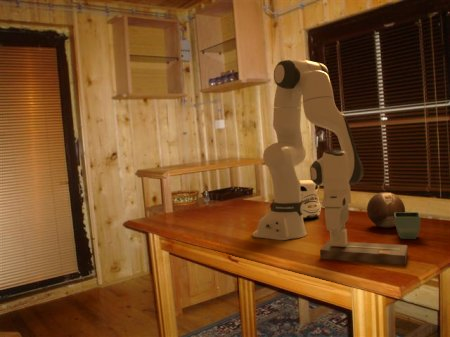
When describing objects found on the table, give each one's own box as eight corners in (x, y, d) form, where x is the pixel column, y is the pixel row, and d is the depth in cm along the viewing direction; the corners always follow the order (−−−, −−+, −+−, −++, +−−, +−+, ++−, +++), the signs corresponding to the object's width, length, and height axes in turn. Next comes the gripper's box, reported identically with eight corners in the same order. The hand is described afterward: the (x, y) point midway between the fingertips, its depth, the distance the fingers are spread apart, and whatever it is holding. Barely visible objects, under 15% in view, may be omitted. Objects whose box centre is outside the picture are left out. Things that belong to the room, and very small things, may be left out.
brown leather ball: (379, 232, 165) (377, 196, 164) (361, 225, 180) (359, 191, 179) (413, 229, 167) (412, 193, 166) (392, 222, 182) (391, 188, 181)
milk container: (315, 222, 192) (313, 184, 191) (280, 220, 201) (278, 184, 199) (325, 215, 207) (323, 179, 206) (293, 213, 216) (291, 180, 214)
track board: (320, 258, 136) (320, 249, 136) (328, 249, 147) (328, 240, 147) (405, 265, 124) (405, 255, 124) (407, 254, 135) (407, 244, 135)
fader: (330, 245, 138) (329, 231, 138) (332, 242, 142) (332, 228, 142) (345, 246, 136) (344, 231, 136) (347, 243, 140) (346, 229, 139)
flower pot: (395, 240, 153) (394, 216, 152) (394, 234, 161) (393, 212, 160) (421, 241, 149) (420, 216, 149) (419, 235, 158) (418, 212, 157)
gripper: (334, 193, 148) (336, 230, 149) (320, 202, 130) (323, 245, 131) (352, 193, 146) (353, 231, 147) (341, 202, 127) (343, 246, 128)
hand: (339, 238), depth 139 cm, fingers open, 8 cm apart
